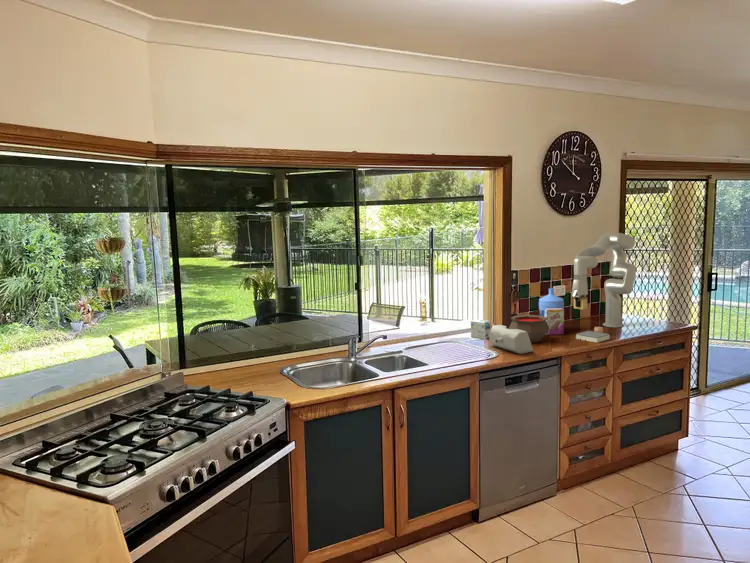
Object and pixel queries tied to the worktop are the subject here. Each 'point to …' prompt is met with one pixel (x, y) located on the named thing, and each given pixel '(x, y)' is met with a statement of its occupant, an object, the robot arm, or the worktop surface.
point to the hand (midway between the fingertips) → (580, 306)
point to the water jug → (550, 302)
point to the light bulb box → (480, 329)
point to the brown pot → (531, 325)
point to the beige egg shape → (598, 329)
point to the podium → (593, 336)
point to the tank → (510, 339)
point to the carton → (582, 303)
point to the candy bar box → (555, 321)
